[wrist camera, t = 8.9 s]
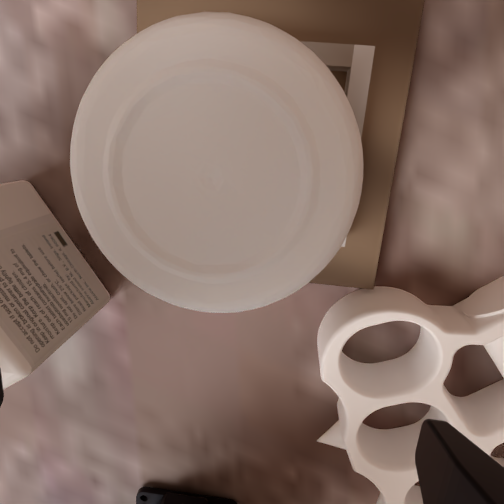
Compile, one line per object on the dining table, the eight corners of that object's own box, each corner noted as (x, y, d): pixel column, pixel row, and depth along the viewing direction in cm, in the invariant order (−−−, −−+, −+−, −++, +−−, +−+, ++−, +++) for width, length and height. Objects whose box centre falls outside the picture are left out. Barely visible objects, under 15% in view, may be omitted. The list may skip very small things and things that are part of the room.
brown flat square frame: (370, 283, 21) (378, 300, 19) (143, 259, 22) (127, 273, 20) (420, -4, 17) (437, -23, 15) (143, -19, 18) (123, -39, 16)
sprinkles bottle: (246, 211, 20) (155, 362, 7) (200, 123, 19) (-4, 108, 6) (333, 168, 19) (419, 250, 6) (290, 73, 18) (280, -77, 5)
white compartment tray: (653, 464, 23) (415, 555, 26) (505, 199, 20) (256, 343, 23) (712, 519, 20) (432, 614, 23) (547, 212, 16) (250, 377, 20)
